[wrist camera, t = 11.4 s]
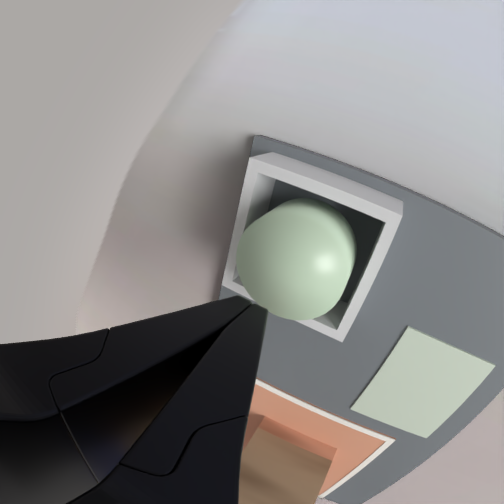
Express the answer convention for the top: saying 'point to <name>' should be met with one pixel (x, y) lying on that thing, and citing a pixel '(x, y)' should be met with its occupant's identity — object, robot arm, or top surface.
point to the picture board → (377, 324)
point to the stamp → (283, 466)
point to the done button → (297, 258)
